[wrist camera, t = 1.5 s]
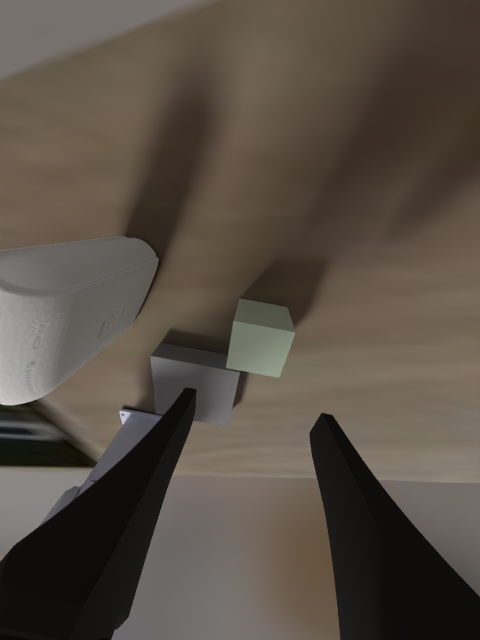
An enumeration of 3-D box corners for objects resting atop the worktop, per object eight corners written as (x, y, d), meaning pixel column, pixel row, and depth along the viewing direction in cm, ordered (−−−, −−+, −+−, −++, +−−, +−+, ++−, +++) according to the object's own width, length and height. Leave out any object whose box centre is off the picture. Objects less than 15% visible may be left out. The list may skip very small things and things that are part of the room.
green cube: (275, 345, 21) (279, 377, 17) (232, 337, 21) (225, 367, 17) (287, 306, 19) (295, 332, 15) (239, 298, 19) (233, 321, 15)
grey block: (231, 407, 28) (228, 426, 25) (165, 395, 28) (155, 413, 25) (242, 355, 23) (240, 372, 20) (162, 340, 23) (150, 355, 20)
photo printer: (134, 329, 22) (12, 435, 11) (98, 310, 21) (-71, 404, 10) (168, 255, 18) (22, 310, 7) (125, 227, 17) (-122, 237, 6)
